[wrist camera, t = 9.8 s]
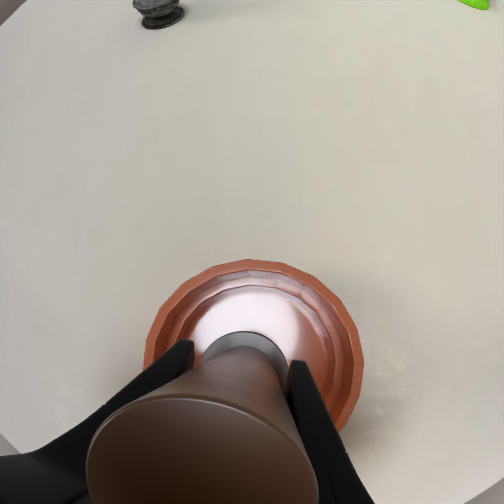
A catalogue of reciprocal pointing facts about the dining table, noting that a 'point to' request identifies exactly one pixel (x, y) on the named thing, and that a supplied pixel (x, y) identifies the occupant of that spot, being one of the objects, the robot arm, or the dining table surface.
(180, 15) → the grey chess piece
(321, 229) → the dining table surface
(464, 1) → the wineglass
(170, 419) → the brown cylinder
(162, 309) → the bowl
